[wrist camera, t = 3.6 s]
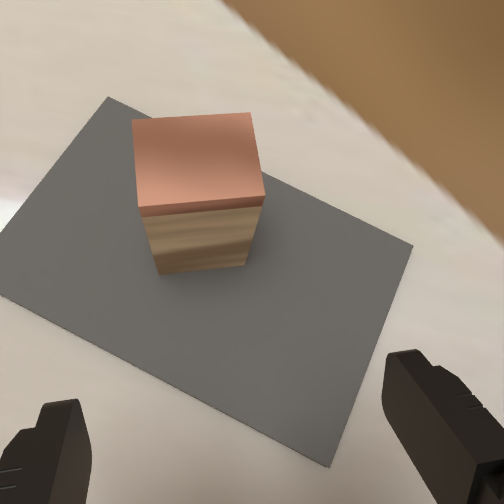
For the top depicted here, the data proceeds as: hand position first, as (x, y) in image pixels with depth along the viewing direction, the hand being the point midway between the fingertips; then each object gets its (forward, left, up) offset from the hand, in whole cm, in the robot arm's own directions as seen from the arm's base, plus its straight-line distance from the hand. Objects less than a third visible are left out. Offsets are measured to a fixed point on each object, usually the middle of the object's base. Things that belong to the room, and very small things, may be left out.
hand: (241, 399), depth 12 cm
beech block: (-6, +8, -13) cm, 16 cm away
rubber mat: (-5, +7, -13) cm, 16 cm away
